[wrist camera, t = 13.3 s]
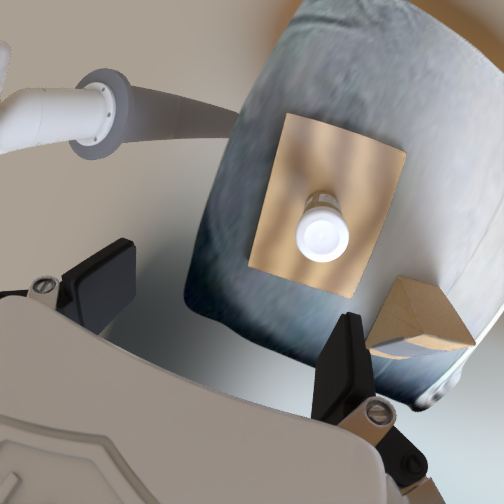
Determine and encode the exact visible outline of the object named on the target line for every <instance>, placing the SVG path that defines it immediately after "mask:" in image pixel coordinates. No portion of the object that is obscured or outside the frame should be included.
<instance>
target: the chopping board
mask: <svg viewBox="0 0 504 504" xmlns="http://www.w3.org/2000/svg"><path fill="white" fill-rule="evenodd" d="M406 155H407V153H406V152H404V151H402V150H399V149H397V148H394V147H392V146H390V145H387V144H385V143H382V142H380V141H377V140H374V139H372V138H369V137H366V136H363V135H361V134H358V133H355V132H352V131H349V130H346V129H343V128H340V127H337V126H334V125H331V124H327V123H324V122H321V121H317V120H314V119H310V118H306V117H303V116H299V115H295V114H291V113H286V117H285V121H284V125H283V129H282V133H281V137H280V141H279V145H278V149H277V152H276V156H275V160H274V164H273V168H272V172H271V176H270V180H269V184H268V188H267V192H266V196H265V200H264V204H263V208H262V212H261V216H260V219H259V223H258V227H257V231H256V235H255V239H254V243H253V247H252V251H251V255H250V259H249V263H248V266H249V267H252V268H255V269H258V270H261V271H264V272H267V273H270V274H274V275H277V276H280V277H283V278H286V279H289V280H292V281H295V282H299V283H302V284H305V285H308V286H311V287H314V288H318V289H321V290H324V291H327V292H330V293H334V294H337V295H340V296H343V297H346V298H350V299H351V298H352V296H353V294H354V292H355V290H356V288H357V286H358V283H359V281H360V279H361V277H362V275H363V272H364V270H365V268H366V266H367V263H368V261H369V259H370V256H371V254H372V252H373V249H374V247H375V244H376V242H377V239H378V237H379V234H380V232H381V229H382V227H383V224H384V221H385V219H386V216H387V213H388V210H389V208H390V205H391V202H392V199H393V196H394V193H395V190H396V187H397V184H398V181H399V178H400V175H401V172H402V169H403V165H404V162H405V158H406ZM320 190H324V191H329V192H331V193H332V194H334V195H335V197H336V198H337V199H338V201H339V204H340V208H341V211H342V214H343V218H344V219H345V221H346V223H347V227H348V231H349V240H348V245H347V247H346V249H345V251H344V252H343V253H342V254H341V255H340V256H339V257H338V258H336V259H334V260H332V261H329V262H316V261H313V260H310V259H308V258H307V257H306V256H304V255H303V254H302V253H301V251H300V250H299V248H298V246H297V244H296V240H295V232H296V227H297V224H298V221H299V219H300V218H301V216H302V215H303V211H304V208H305V204H306V200H307V198H308V197H309V196H310V195H311V194H312V193H314V192H315V191H320Z"/></svg>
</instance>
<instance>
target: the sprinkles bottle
mask: <svg viewBox="0 0 504 504" xmlns="http://www.w3.org/2000/svg"><path fill="white" fill-rule="evenodd" d="M295 240H296V244H297V246H298V248H299V250H300V251H301V253H302V254H303V255H304V256H306V257H307V258H308V259H310V260H313V261H316V262H329V261H332V260H334V259H336V258H338V257H339V256H340V255H341V254H342V253H343V252H344V251H345V249H346V247H347V245H348V240H349V231H348V227H347V223H346V221H345V219H344V218H343V214H342V211H341V208H340V204H339V201H338V199H337V198H336V197H335V195H334V194H332V193H331V192H329V191H324V190H320V191H315V192H314V193H312V194H311V195H310V196H309V197H308V198H307V200H306V204H305V208H304V211H303V215H302V216H301V218H300V219H299V221H298V224H297V227H296V232H295Z"/></svg>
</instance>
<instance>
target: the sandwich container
mask: <svg viewBox="0 0 504 504" xmlns="http://www.w3.org/2000/svg"><path fill="white" fill-rule="evenodd" d="M365 345H366V349H369V351H370V354H373V355H377V356H381V357H387V358H393V359H405V358H411V357H417V356H423V355H429V354H435V353H440V352H446V351H452V350H457V349H462V348H468V347H473V346H475V345H476V342H475V341H474V339H473V337H472V336H471V334H470V332H469V331H468V329H467V327H466V326H465V324H464V323H463V321H462V320H461V318H460V316H459V315H458V313H457V312H456V310H455V309H454V307H453V306H452V304H451V303H450V302H449V300H448V299H447V297H446V296H445V295H444V293H443V292H442V290H441V289H440V288H439V287H437V286H434V285H431V284H427V283H424V282H420V281H417V280H414V279H410V278H407V277H403V276H400V275H398V276H397V277H396V279H395V282H394V284H393V286H392V288H391V290H390V292H389V294H388V296H387V298H386V300H385V302H384V304H383V306H382V308H381V310H380V312H379V314H378V316H377V319H376V321H375V323H374V325H373V327H372V329H371V331H370V333H369V335H368V337H367V339H366V341H365Z"/></svg>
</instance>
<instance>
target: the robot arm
mask: <svg viewBox="0 0 504 504" xmlns="http://www.w3.org/2000/svg"><path fill="white" fill-rule="evenodd" d="M10 57H11V47H10V45H9V44H8V43H7V42H5V41H0V98H1V93H2V88H3V84H4V80H5V76H6V73H7V69H8V65H9V61H10ZM115 113H116V101H115V97H114V94H113V91H112V90H111V88H110V87H109V86H108V85H106V84H104V83H100V82H93V83H90V84H88V85H87V86H85V87H84V88H83V89H72V88H25V89H22V90H19V91H16V92H15V93H13V94H11V95H10V96H9V97H7V98H6V99H5V100H4V101H3V102H2V103H0V155H1V154H4V153H7V152H10V151H14V150H18V149H23V148H27V147H32V146H38V145H43V144H49V143H55V142H61V141H68V140H76V141H77V142H78V143H80V144H81V145H84V146H92V145H96V144H98V143H99V142H101V141H102V140H103V139H104V138H105V137H106V136H107V134H108V133H109V131H110V129H111V127H112V125H113V122H114V118H115ZM135 295H136V246H135V245H134V243H133V241H130V240H128V239H125V238H120V239H118V240H117V241H115V242H113V243H112V244H110V245H108V246H107V247H105V248H103V249H102V250H100V251H99V252H97V253H95V254H94V255H92V256H91V257H89V258H87V259H86V260H84V261H83V262H81V263H80V264H78V265H77V266H75V267H74V268H72V269H71V270H69V271H67V272H66V273H65V274H63V275H62V281H61V282H60V283H59V281H58V279H57V278H55V277H53V276H41V277H38V278H36V279H35V280H34V281H33V282H32V283H31V284H30V287H29V290H17V291H2V292H0V504H446V503H445V501H444V500H443V498H442V496H441V494H440V492H439V491H438V489H437V487H436V486H435V483H434V482H433V480H432V478H431V477H430V478H427V477H426V473H427V469H428V463H427V460H426V457H425V456H424V455H423V453H421V452H420V451H419V450H418V449H417V448H416V447H415V446H414V445H413V444H412V443H411V442H410V441H409V440H408V439H407V438H406V437H405V436H404V435H403V434H402V433H401V432H400V431H399V430H398V429H397V428H396V427H395V426H394V423H395V421H396V411H395V409H394V407H393V405H392V404H391V403H390V402H389V401H387V400H386V399H384V398H381V397H377V396H376V393H375V384H374V376H373V368H372V361H371V354H370V351H369V349H366V345H365V338H364V332H363V326H362V320H361V316H360V315H358V314H354V313H351V312H347V313H346V314H342V315H341V316H340V318H339V320H338V322H337V324H336V326H335V328H334V329H333V331H332V333H331V335H330V337H329V339H328V341H327V343H326V344H325V346H324V348H323V350H322V352H321V353H320V355H319V357H318V359H317V362H316V369H315V382H314V392H313V402H312V412H311V419H310V418H307V417H303V416H299V415H295V414H291V413H288V412H284V411H280V410H277V409H273V408H270V407H266V406H263V405H260V404H256V403H253V402H250V401H247V400H244V399H241V398H238V397H234V396H232V395H228V394H226V393H223V392H220V391H217V390H215V389H211V388H209V387H206V386H204V385H201V384H199V383H196V382H194V381H191V380H189V379H186V378H184V377H181V376H179V375H177V374H174V373H172V372H170V371H167V370H165V369H163V368H161V367H158V366H156V365H154V364H152V363H150V362H148V361H145V360H144V359H141V358H139V357H137V356H135V355H133V354H131V353H129V352H127V351H125V350H124V349H122V348H120V347H118V346H116V345H114V344H112V343H110V342H108V341H107V340H105V339H103V338H101V337H99V336H98V335H99V333H100V332H102V331H103V329H105V327H106V326H107V325H108V324H110V322H112V321H113V320H114V319H115V317H117V316H118V315H119V314H120V313H121V312H122V311H123V310H124V308H126V307H127V306H128V305H129V304H130V303H131V302H132V301H133V300H134V298H135Z"/></svg>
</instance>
